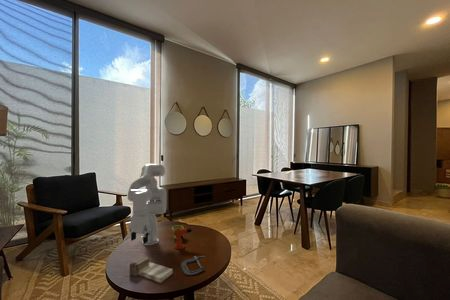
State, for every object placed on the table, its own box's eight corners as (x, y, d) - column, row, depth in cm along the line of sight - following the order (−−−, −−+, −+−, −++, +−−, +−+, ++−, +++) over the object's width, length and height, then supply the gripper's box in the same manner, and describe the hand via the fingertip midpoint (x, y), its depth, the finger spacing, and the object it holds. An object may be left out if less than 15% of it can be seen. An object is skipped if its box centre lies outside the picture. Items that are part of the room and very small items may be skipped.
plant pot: (172, 241, 173) (173, 230, 173) (170, 236, 181) (171, 226, 181) (184, 239, 177) (184, 228, 176) (182, 235, 185) (182, 224, 185)
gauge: (129, 274, 127) (129, 261, 127) (142, 265, 136) (142, 254, 136) (135, 276, 125) (135, 263, 125) (148, 267, 134) (148, 256, 134)
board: (129, 271, 130) (129, 267, 130) (142, 263, 139) (142, 259, 139) (160, 282, 120) (160, 278, 120) (172, 273, 129) (172, 269, 129)
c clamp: (179, 260, 144) (179, 256, 144) (205, 257, 149) (205, 253, 149) (183, 278, 125) (183, 273, 125) (212, 273, 130) (212, 268, 130)
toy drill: (199, 246, 160) (197, 226, 160) (174, 250, 159) (171, 230, 159) (200, 243, 165) (197, 224, 165) (175, 247, 164) (172, 227, 164)
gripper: (124, 212, 130) (123, 240, 130) (145, 216, 123) (145, 246, 123) (134, 209, 137) (134, 236, 137) (155, 212, 129) (155, 241, 130)
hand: (139, 241), depth 130 cm, fingers open, 9 cm apart
